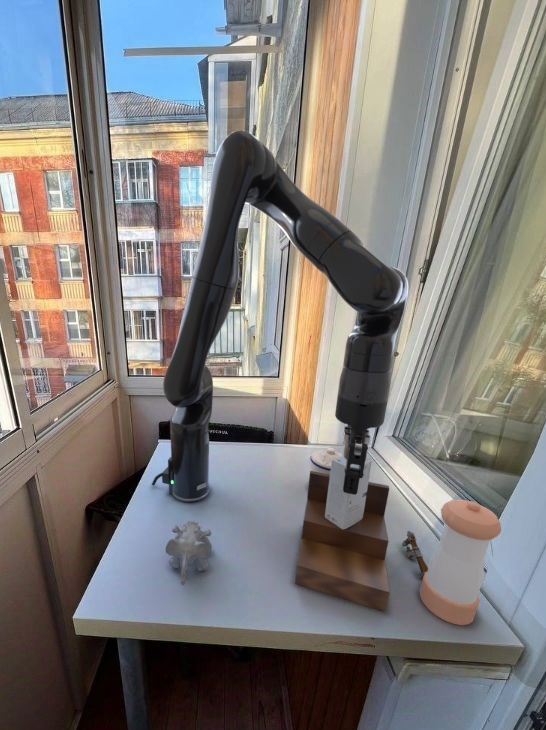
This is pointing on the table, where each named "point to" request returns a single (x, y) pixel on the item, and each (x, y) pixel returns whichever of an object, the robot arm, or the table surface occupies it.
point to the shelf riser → (345, 548)
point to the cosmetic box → (345, 495)
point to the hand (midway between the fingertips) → (349, 480)
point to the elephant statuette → (189, 548)
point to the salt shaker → (459, 561)
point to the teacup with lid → (323, 460)
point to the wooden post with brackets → (415, 552)
